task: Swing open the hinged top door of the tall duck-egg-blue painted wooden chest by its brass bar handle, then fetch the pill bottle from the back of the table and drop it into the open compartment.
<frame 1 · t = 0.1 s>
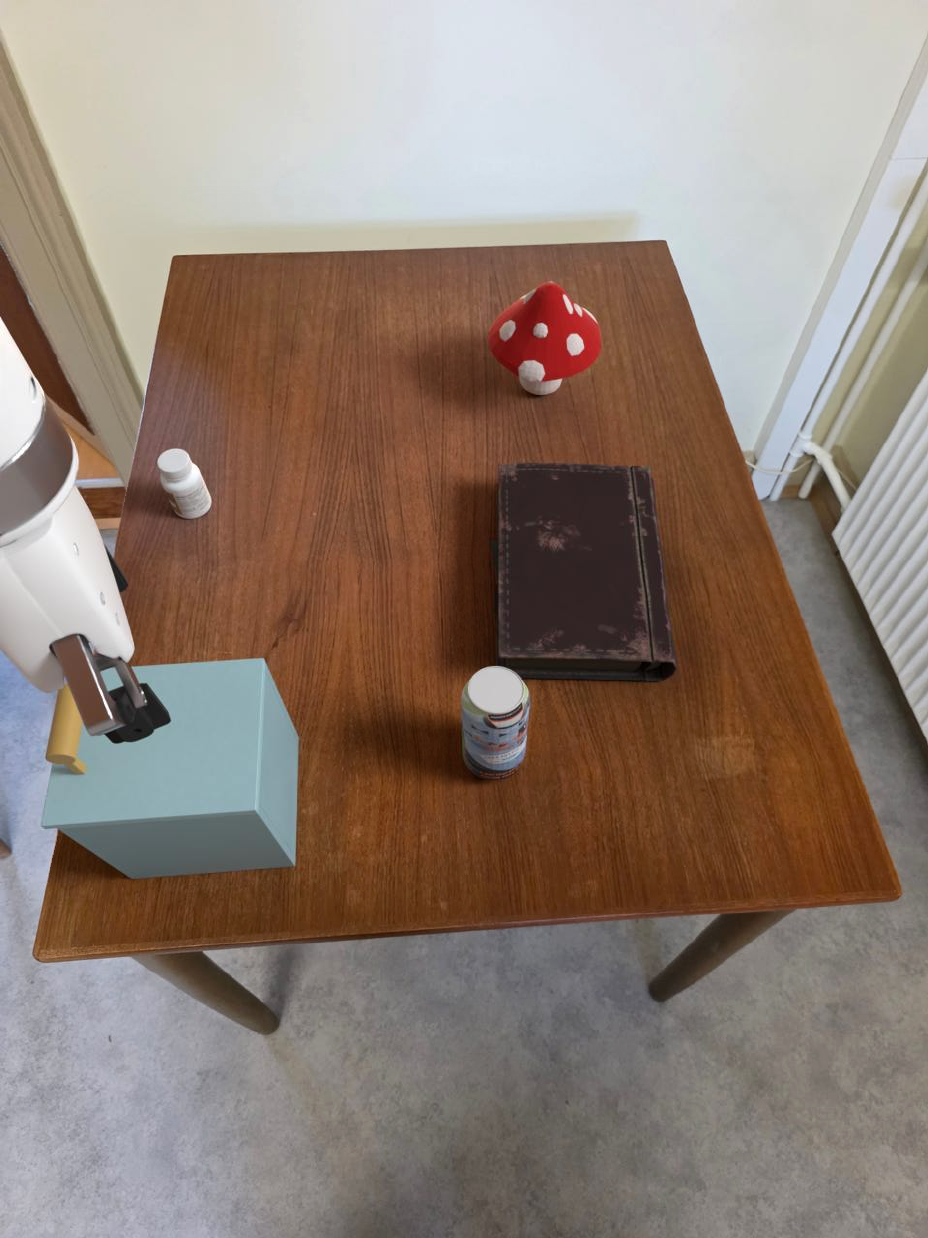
hand: (121, 658, 47), 33 cm above the table, tool pointing down, fingers open, 9 cm apart
chest: (219, 805, 76), on the table
beverage can: (492, 750, 79), on the table
pill bottle: (193, 506, 95), on the table
decorative mushroom: (540, 386, 105), on the table
diary: (573, 580, 90), on the table
lid: (150, 727, 60), point 18 cm above the table, hinge at 0.0°
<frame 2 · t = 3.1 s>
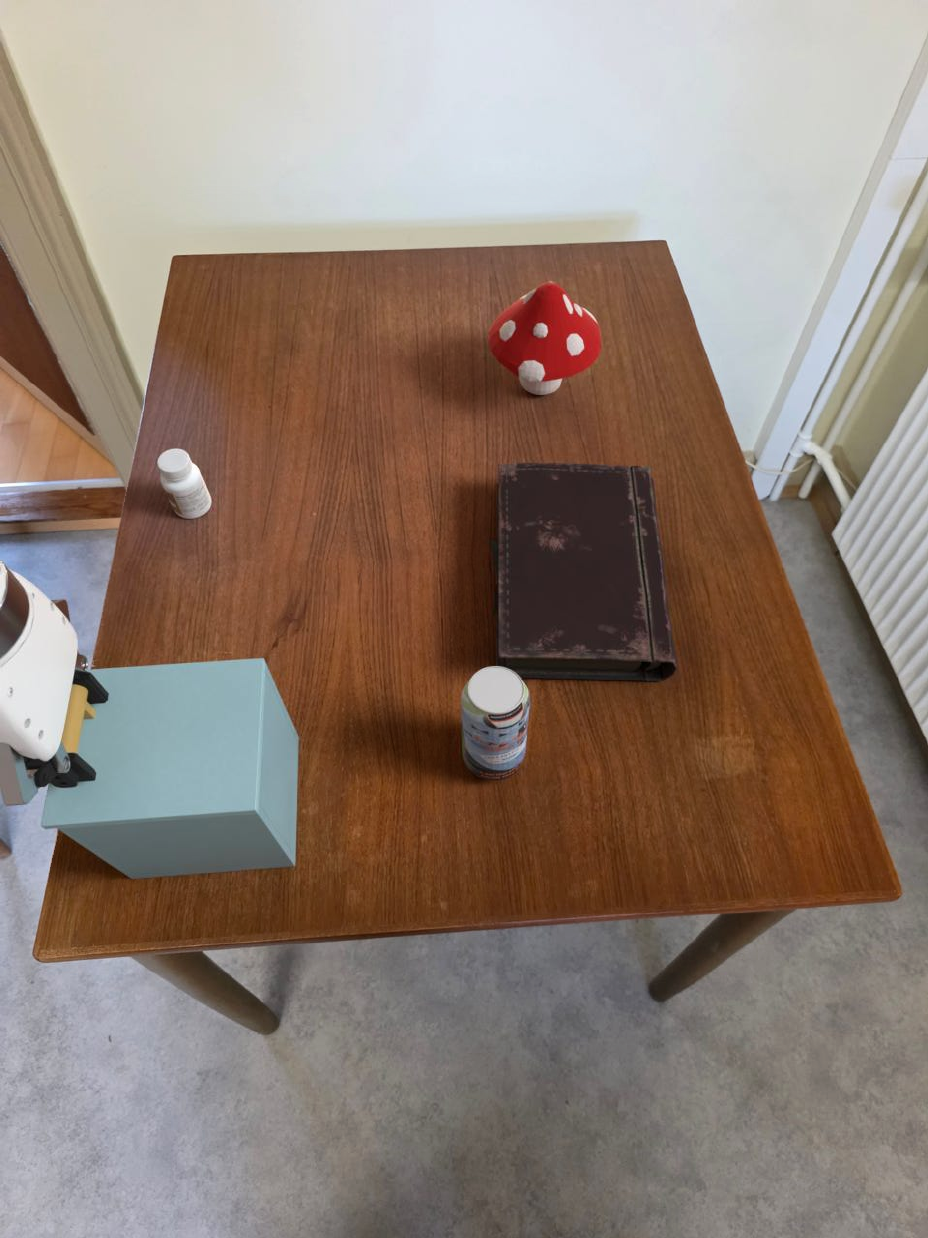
hand: (81, 737, 61), 18 cm above the table, tool pointing down, fingers closed on lid, 5 cm apart
lid: (150, 727, 60), point 18 cm above the table, hinge at 0.0°, touching gripper
everything else where it was.
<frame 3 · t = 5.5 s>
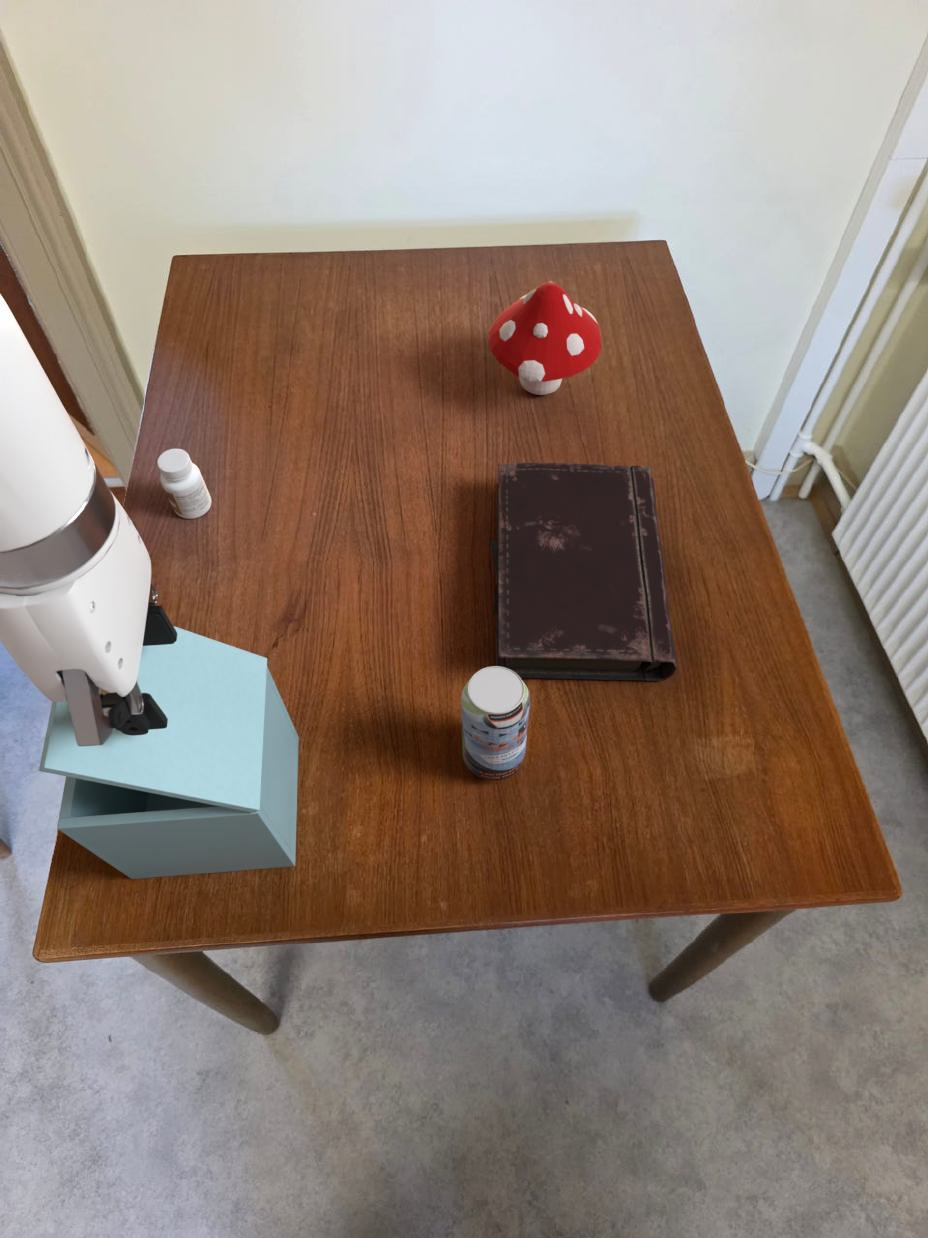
hand: (148, 680, 54), 26 cm above the table, tool pointing down, fingers closed on lid, 5 cm apart
lid: (185, 695, 56), point 23 cm above the table, hinge at 46.2°, touching gripper
everything else where it was.
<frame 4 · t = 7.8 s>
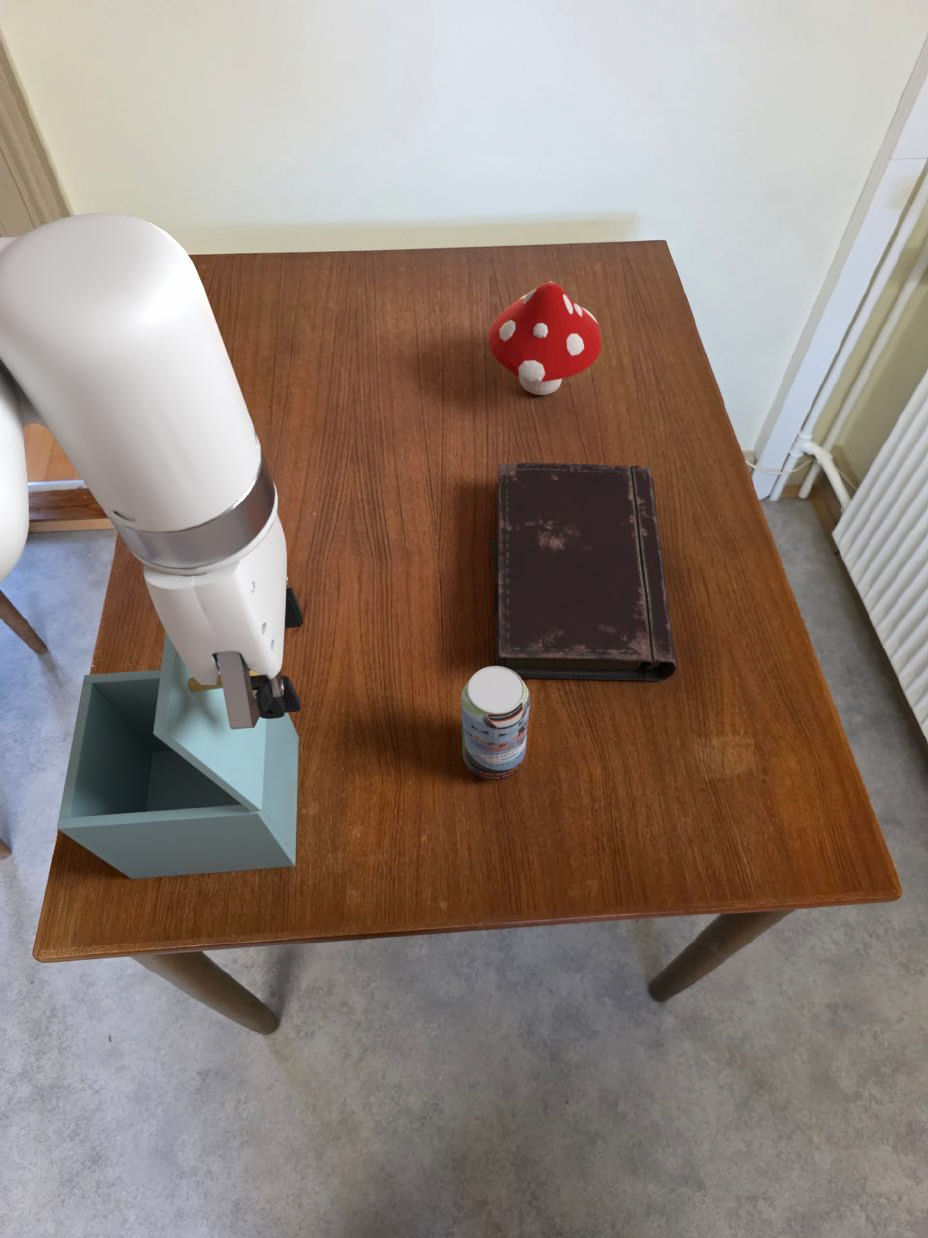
hand: (278, 664, 54), 27 cm above the table, tool pointing down, fingers closed on lid, 5 cm apart
lid: (252, 685, 56), point 24 cm above the table, hinge at 81.5°, touching gripper
everything else where it was.
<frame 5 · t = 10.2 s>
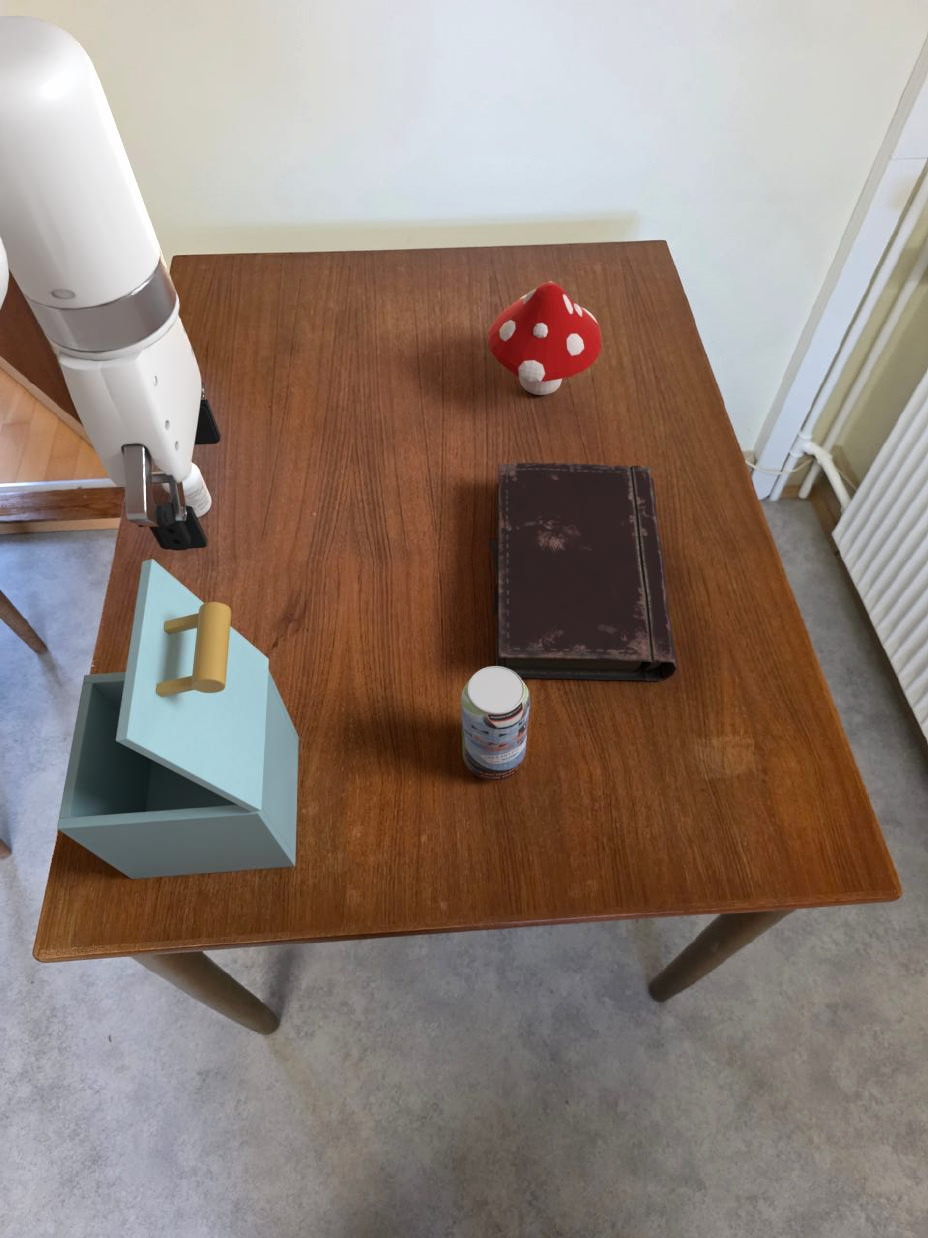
hand: (193, 491, 59), 28 cm above the table, tool pointing down, fingers open, 9 cm apart
lid: (234, 686, 56), point 24 cm above the table, hinge at 72.6°
everything else where it was.
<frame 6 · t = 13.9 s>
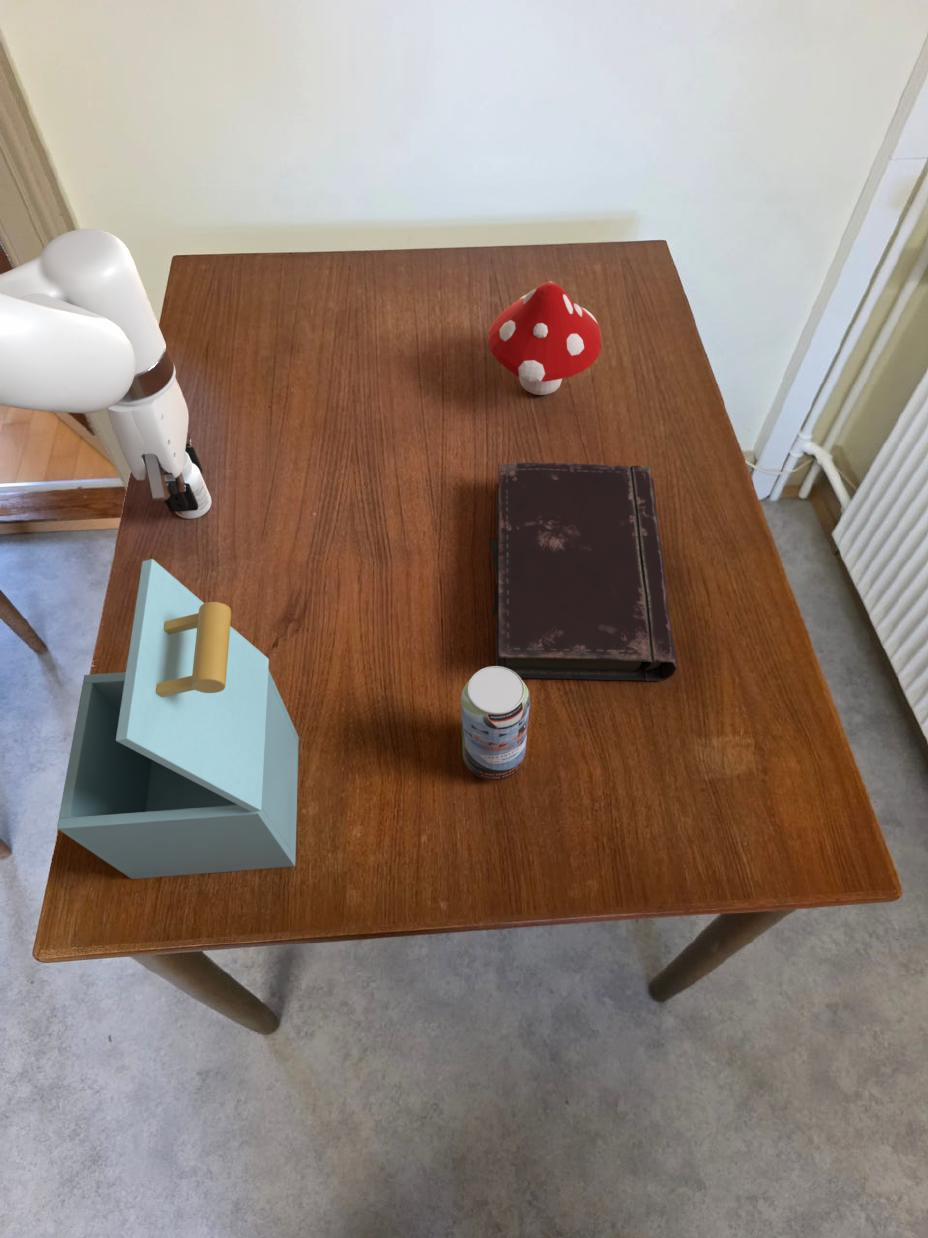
hand: (186, 489, 92), 3 cm above the table, tool pointing down, fingers closed on pill bottle, 4 cm apart
pill bottle: (193, 506, 95), on the table, touching gripper
everything else where it was.
when the fingers open (16 cm above the table, at t = 20.9 s): pill bottle drops 13 cm, resting on chest.
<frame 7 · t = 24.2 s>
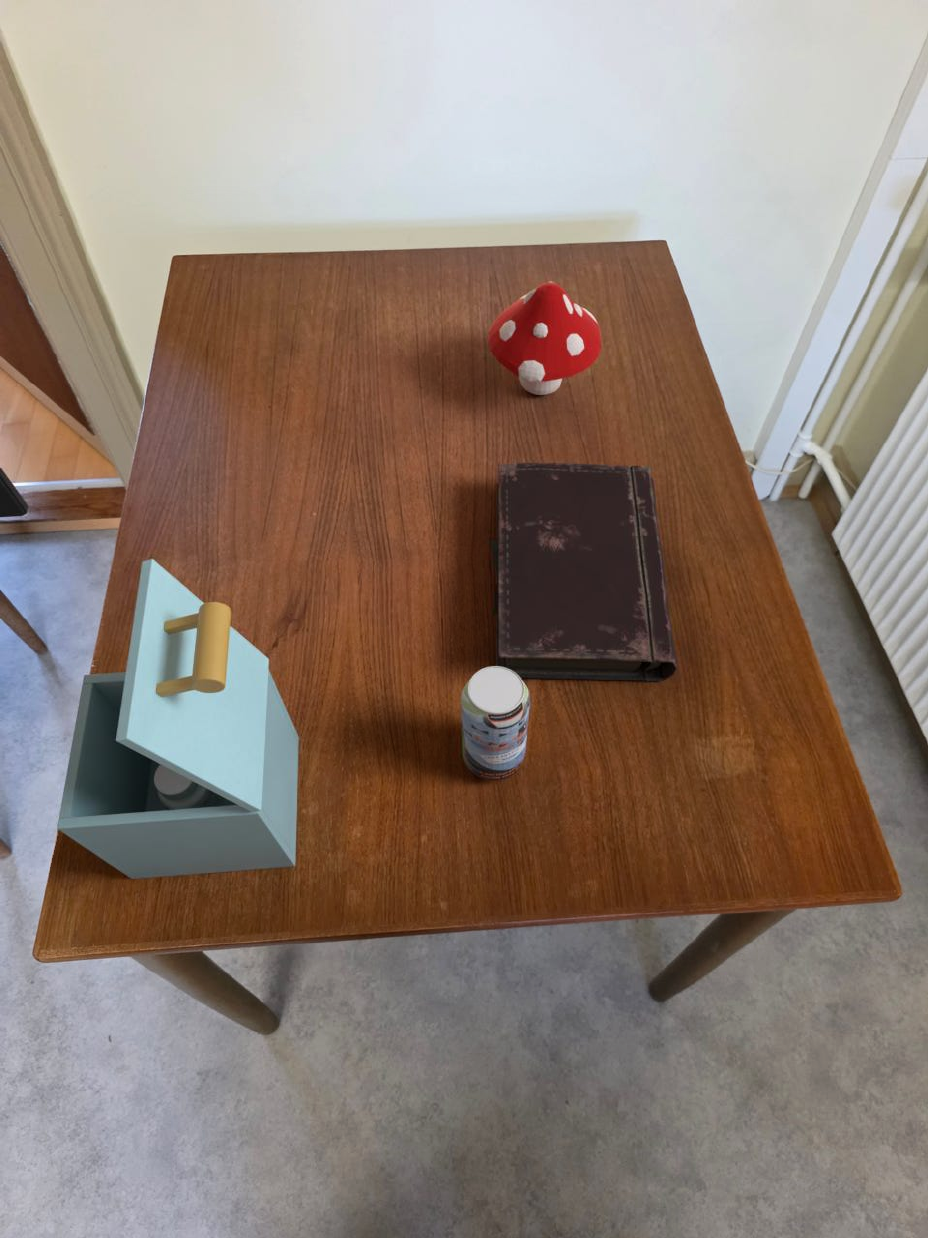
pill bottle: (199, 805, 76), point 1 cm above the table, touching chest
everything else where it was.
at the end: lid at +73° (first picture: +0°); pill bottle inside the target area in the chest (1.7 cm from its centre), point 0.6 cm above the chest's base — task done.
